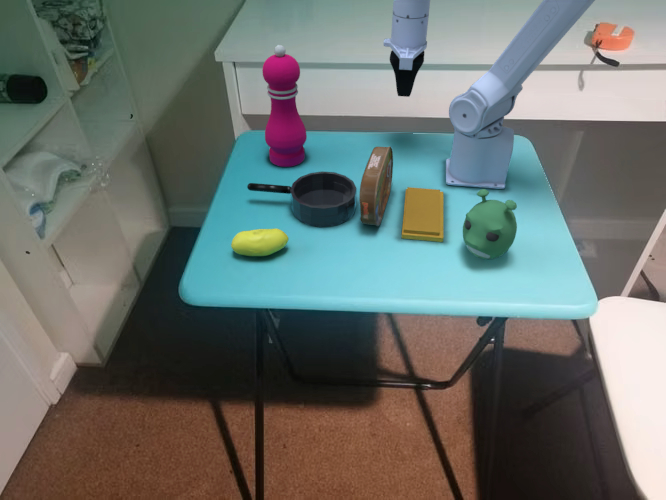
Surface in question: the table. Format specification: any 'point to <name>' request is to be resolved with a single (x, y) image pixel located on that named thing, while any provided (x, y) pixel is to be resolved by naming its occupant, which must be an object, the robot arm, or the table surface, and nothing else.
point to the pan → (323, 199)
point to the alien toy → (490, 227)
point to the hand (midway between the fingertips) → (403, 94)
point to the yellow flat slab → (423, 215)
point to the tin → (376, 185)
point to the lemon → (259, 242)
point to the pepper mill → (283, 110)
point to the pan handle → (269, 188)
